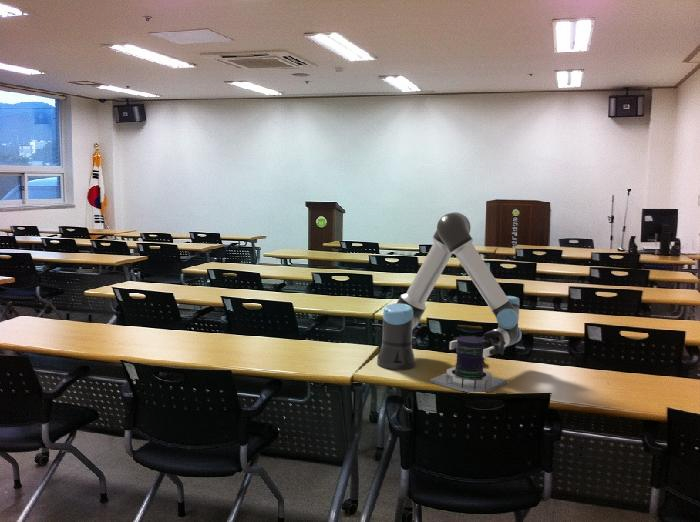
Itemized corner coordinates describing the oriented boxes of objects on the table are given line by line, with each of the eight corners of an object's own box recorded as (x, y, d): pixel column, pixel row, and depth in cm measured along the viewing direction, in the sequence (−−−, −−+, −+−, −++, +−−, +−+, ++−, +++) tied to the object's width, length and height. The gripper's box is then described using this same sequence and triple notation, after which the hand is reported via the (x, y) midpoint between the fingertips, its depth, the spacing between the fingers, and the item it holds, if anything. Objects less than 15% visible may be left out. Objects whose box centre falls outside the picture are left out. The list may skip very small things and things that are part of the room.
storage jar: (449, 378, 206) (451, 338, 204) (464, 373, 213) (466, 334, 211) (472, 385, 199) (475, 344, 197) (487, 380, 206) (490, 339, 204)
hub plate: (429, 382, 205) (430, 372, 204) (458, 371, 220) (459, 361, 219) (479, 396, 192) (480, 386, 191) (506, 383, 207) (507, 373, 206)
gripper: (525, 356, 210) (498, 367, 195) (466, 343, 227) (436, 352, 211) (527, 336, 209) (499, 346, 194) (467, 324, 226) (437, 332, 210)
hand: (466, 349), depth 202 cm, fingers open, 13 cm apart
